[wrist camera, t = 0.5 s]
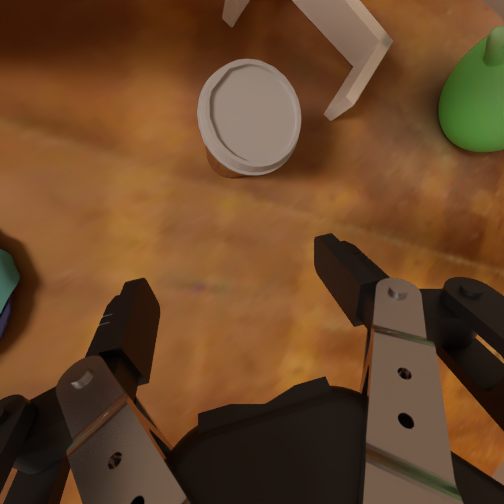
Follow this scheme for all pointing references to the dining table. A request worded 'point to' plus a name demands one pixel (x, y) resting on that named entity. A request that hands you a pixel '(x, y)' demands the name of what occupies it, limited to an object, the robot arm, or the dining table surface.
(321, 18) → the bay
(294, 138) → the disposable coffee cup
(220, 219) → the dining table surface
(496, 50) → the toy bird
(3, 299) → the cutlery set
